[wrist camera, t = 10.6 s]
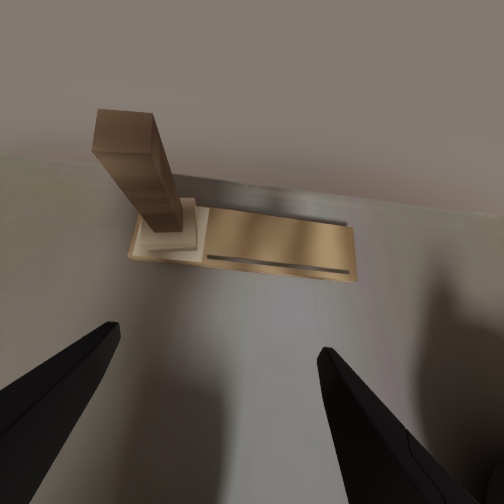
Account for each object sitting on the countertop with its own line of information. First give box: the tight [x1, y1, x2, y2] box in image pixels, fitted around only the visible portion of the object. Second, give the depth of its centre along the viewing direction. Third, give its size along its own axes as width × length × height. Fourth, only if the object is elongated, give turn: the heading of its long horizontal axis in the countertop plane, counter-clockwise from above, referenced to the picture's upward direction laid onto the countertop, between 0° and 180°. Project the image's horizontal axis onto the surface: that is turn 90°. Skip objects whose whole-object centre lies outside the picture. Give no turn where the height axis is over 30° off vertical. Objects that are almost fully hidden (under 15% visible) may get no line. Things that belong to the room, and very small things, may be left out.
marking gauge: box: [92, 109, 198, 252], centre depth 17 cm, size 6×5×13 cm
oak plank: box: [127, 205, 358, 282], centre depth 25 cm, size 26×7×1 cm, turn 86°
